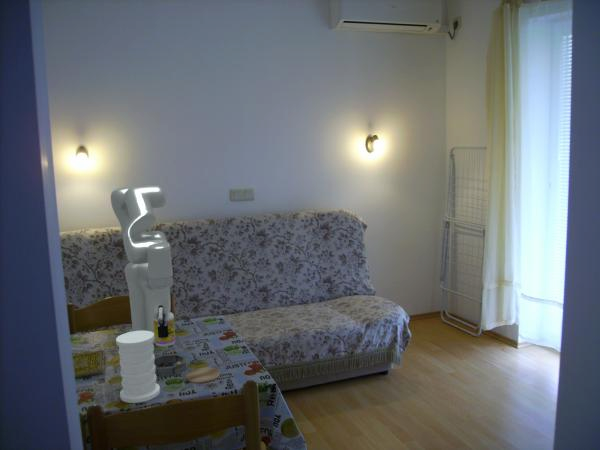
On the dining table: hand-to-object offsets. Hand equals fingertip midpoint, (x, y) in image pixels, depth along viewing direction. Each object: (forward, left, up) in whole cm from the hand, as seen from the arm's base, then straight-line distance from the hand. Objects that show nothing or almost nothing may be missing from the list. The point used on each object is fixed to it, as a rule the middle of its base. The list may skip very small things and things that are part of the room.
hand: (164, 332), depth 179 cm
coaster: (+16, +2, -12) cm, 20 cm away
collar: (+1, 0, -12) cm, 12 cm away
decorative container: (+9, -18, -12) cm, 23 cm away
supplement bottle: (0, 0, -4) cm, 4 cm away
